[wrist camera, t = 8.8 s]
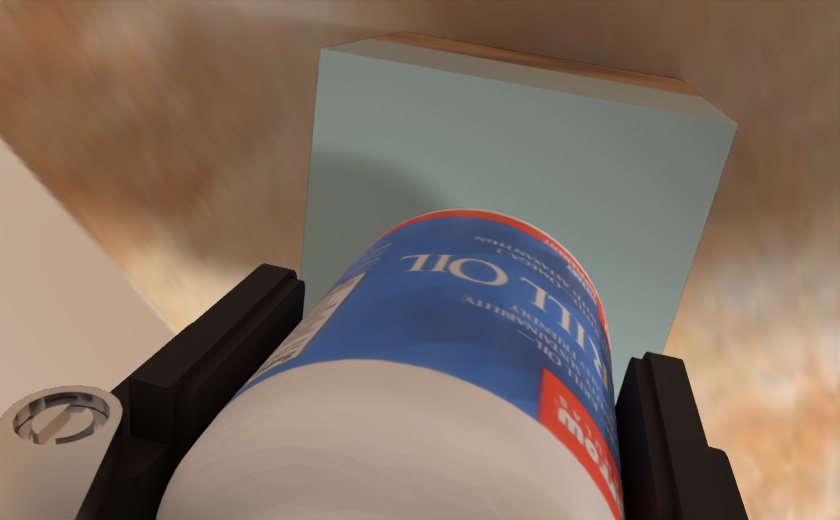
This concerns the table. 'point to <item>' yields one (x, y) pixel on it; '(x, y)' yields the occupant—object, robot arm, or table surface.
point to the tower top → (516, 170)
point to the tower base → (541, 62)
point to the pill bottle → (426, 391)
